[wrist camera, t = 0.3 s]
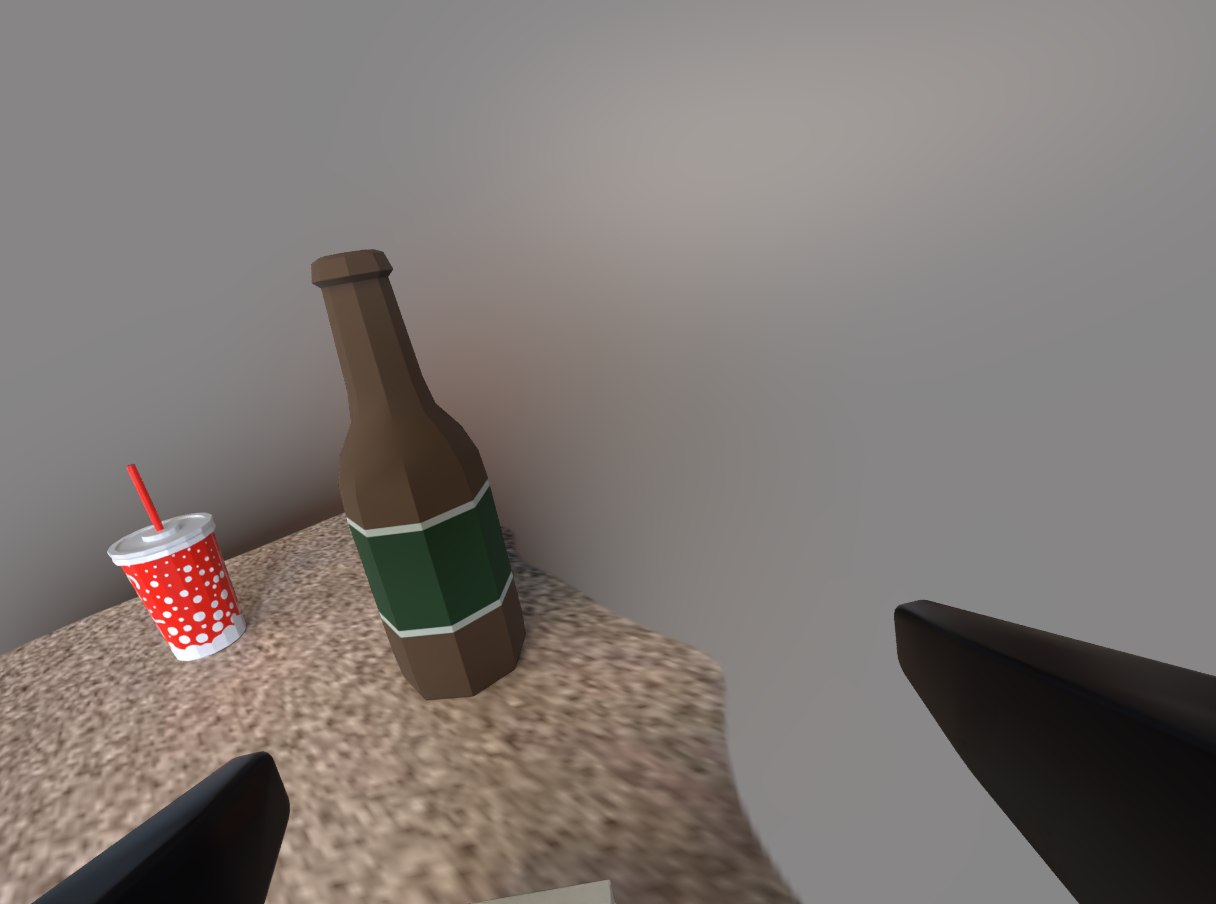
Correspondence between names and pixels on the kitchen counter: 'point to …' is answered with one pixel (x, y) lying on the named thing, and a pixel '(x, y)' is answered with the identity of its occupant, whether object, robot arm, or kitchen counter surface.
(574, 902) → the cream flat block
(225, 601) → the beverage cup
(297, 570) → the kitchen counter surface
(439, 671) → the beer bottle
